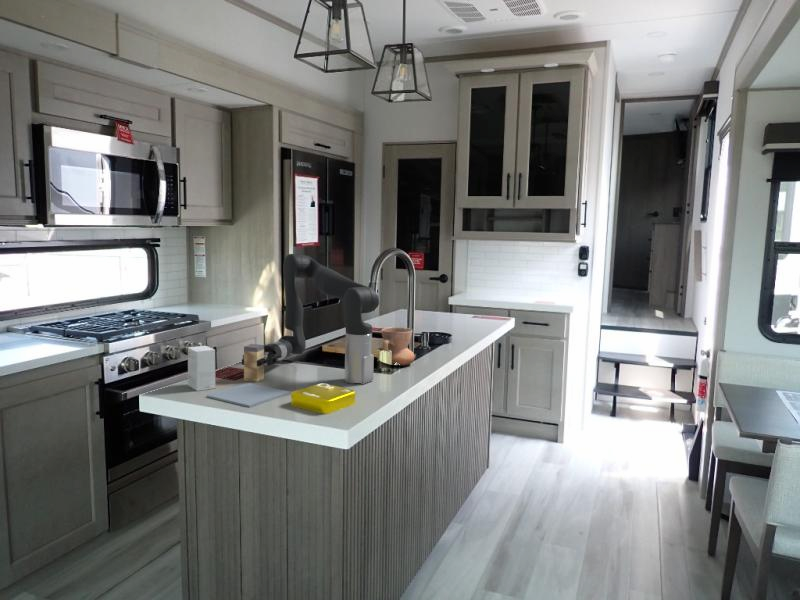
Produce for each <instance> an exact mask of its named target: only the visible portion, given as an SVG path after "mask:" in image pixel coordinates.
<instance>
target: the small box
mask: <svg viewBox="0 0 800 600" xmlns="http://www.w3.org/2000/svg"><path fill="white" fill-rule="evenodd" d="M187 385H188V386H189V387H190V388H191V389H193V390H195V391H197V392H199V391H200V392H201V391H205V390H212V389H216V349H215V348H212V347H210V346H207V345H198V346H189V347H187Z"/></svg>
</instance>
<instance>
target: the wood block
mask: <svg viewBox="0 0 800 600" xmlns="http://www.w3.org/2000/svg"><path fill="white" fill-rule="evenodd" d="M264 346H265V345H264V344H259V343H258V344H257V343H256V344H255V343H250V344H247V345H245V346H243V355H244V365H243V381H244V382H253V383H259V382H260V381H262V380H264V379H265V365H261V366H259V367H258V366H257V360H259V359H261V358H263V357H264Z"/></svg>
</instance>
